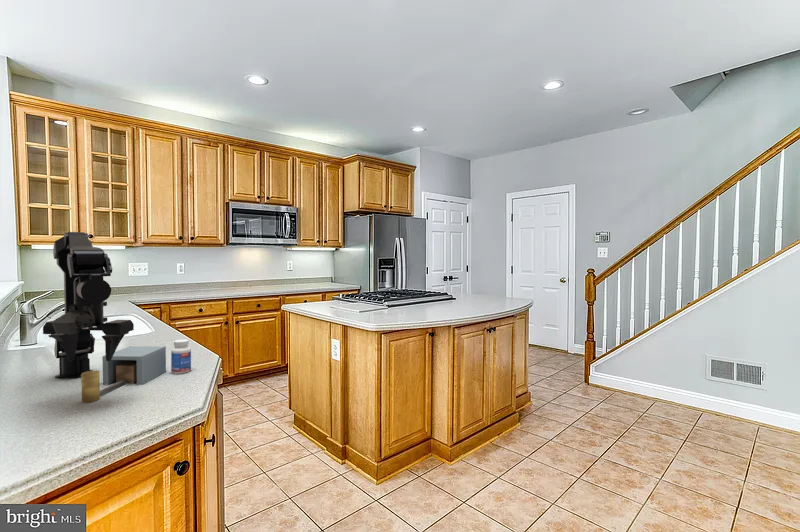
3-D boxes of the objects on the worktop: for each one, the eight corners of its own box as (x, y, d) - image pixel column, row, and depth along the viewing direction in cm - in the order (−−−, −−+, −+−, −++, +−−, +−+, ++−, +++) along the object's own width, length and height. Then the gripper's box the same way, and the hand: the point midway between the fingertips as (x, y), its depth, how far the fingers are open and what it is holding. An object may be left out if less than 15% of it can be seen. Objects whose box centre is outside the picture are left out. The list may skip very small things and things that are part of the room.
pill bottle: (182, 374, 120) (182, 343, 119) (167, 373, 121) (166, 342, 120) (195, 369, 125) (194, 339, 125) (180, 368, 126) (180, 338, 126)
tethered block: (75, 402, 97) (74, 375, 97) (128, 377, 117) (127, 354, 116) (95, 402, 97) (94, 375, 97) (145, 377, 117) (144, 354, 116)
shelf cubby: (103, 384, 111) (102, 356, 110) (130, 371, 122) (130, 346, 122) (142, 384, 111) (141, 356, 110) (166, 371, 122) (165, 346, 122)
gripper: (20, 303, 90) (22, 370, 91) (102, 304, 90) (103, 370, 91) (61, 297, 101) (63, 357, 102) (134, 298, 101) (135, 357, 102)
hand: (90, 360), depth 99 cm, fingers open, 9 cm apart
